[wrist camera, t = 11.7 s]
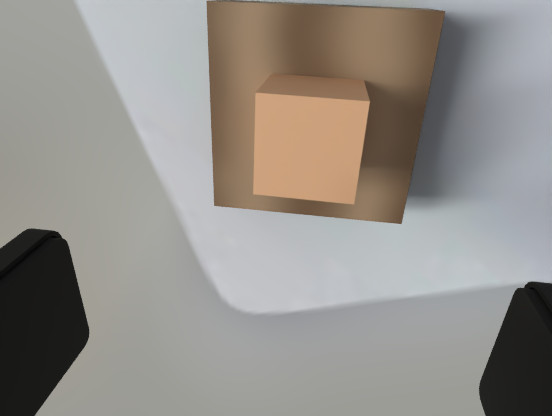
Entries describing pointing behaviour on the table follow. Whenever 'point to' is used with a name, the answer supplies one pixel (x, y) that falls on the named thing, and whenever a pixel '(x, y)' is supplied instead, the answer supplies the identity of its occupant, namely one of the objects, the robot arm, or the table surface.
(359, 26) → the walnut base
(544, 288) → the robot arm
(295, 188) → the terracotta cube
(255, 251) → the table surface
